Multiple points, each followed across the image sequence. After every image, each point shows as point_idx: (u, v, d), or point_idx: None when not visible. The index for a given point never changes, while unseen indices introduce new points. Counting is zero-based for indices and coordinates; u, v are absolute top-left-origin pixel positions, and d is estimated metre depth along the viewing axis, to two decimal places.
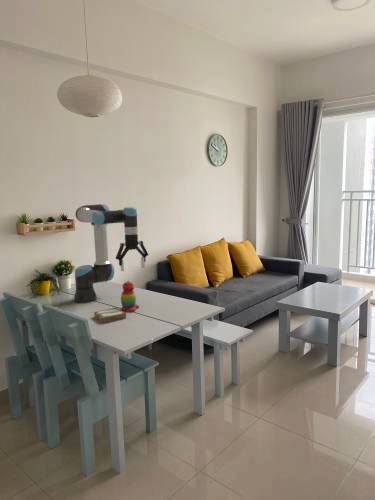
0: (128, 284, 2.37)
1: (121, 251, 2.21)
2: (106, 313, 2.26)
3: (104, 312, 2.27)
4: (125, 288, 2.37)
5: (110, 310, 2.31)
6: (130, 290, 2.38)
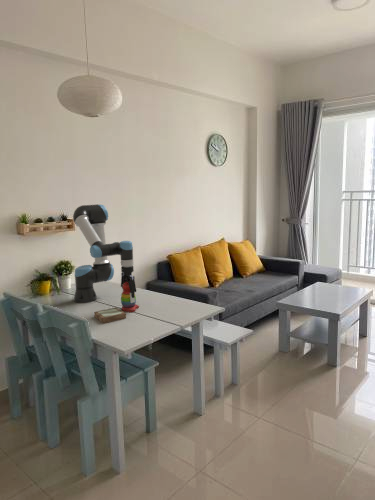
0: (128, 284, 2.37)
1: (121, 280, 2.44)
2: (106, 313, 2.26)
3: (104, 312, 2.27)
4: (125, 288, 2.37)
5: (110, 310, 2.31)
6: None
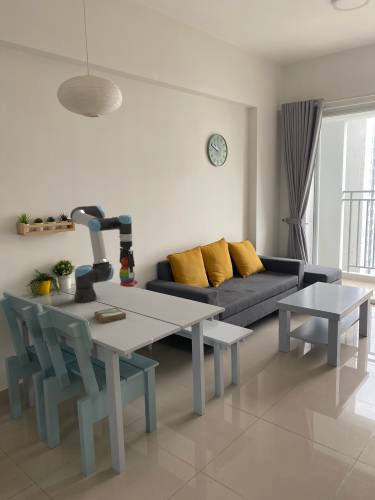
0: None
1: (120, 255, 2.41)
2: (106, 313, 2.26)
3: (104, 312, 2.27)
4: (124, 263, 2.34)
5: (110, 310, 2.31)
6: None
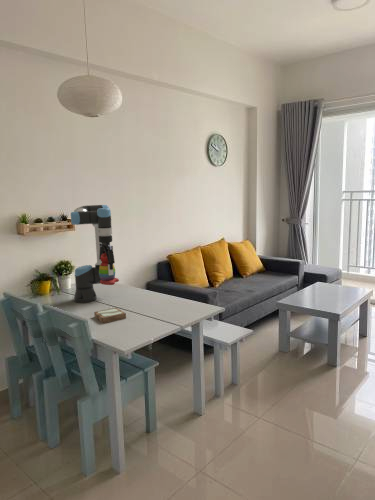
0: (106, 255, 2.19)
1: (100, 251, 2.26)
2: (106, 313, 2.26)
3: (104, 312, 2.27)
4: (103, 259, 2.19)
5: (110, 310, 2.31)
6: None
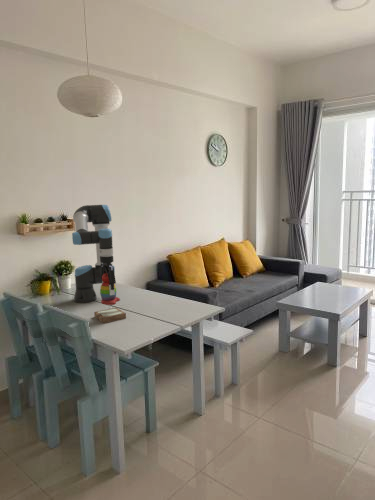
0: None
1: (101, 271, 2.28)
2: (106, 313, 2.26)
3: (104, 312, 2.27)
4: (104, 279, 2.20)
5: (110, 310, 2.31)
6: None
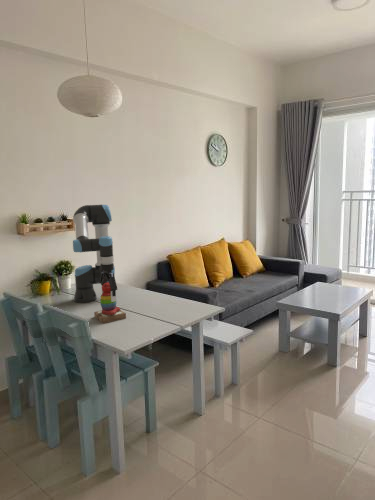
0: (107, 285, 2.23)
1: (101, 277, 2.29)
2: None
3: None
4: (104, 289, 2.22)
5: None
6: (109, 291, 2.23)
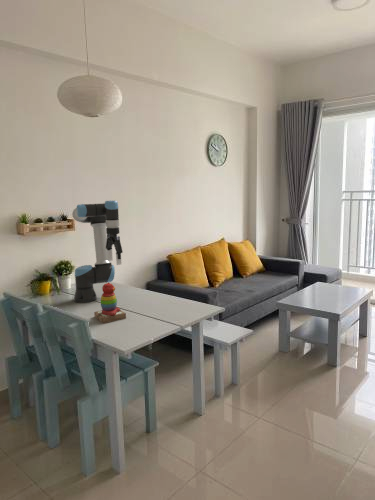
0: (108, 286, 2.22)
1: (107, 241, 2.32)
2: None
3: None
4: (105, 290, 2.22)
5: None
6: (110, 292, 2.23)
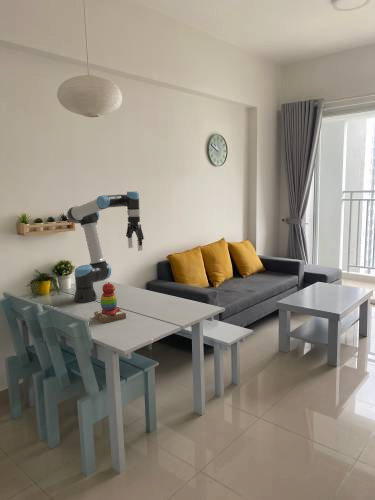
0: (108, 286, 2.22)
1: (127, 230, 2.49)
2: None
3: None
4: (105, 290, 2.22)
5: None
6: (110, 292, 2.23)
